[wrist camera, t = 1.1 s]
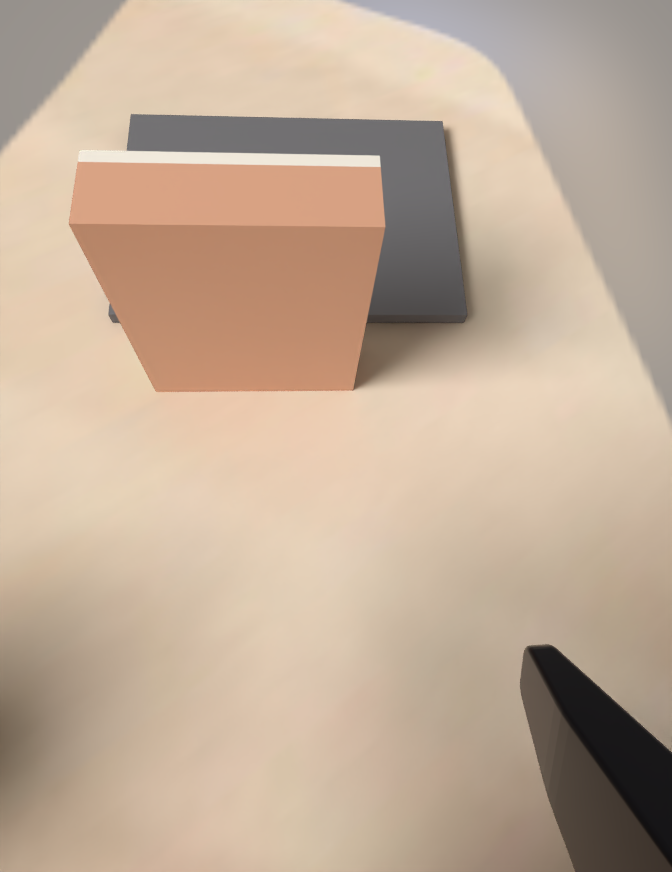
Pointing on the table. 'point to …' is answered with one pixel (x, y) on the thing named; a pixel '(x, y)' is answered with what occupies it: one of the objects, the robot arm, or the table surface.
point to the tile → (235, 263)
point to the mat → (401, 183)
